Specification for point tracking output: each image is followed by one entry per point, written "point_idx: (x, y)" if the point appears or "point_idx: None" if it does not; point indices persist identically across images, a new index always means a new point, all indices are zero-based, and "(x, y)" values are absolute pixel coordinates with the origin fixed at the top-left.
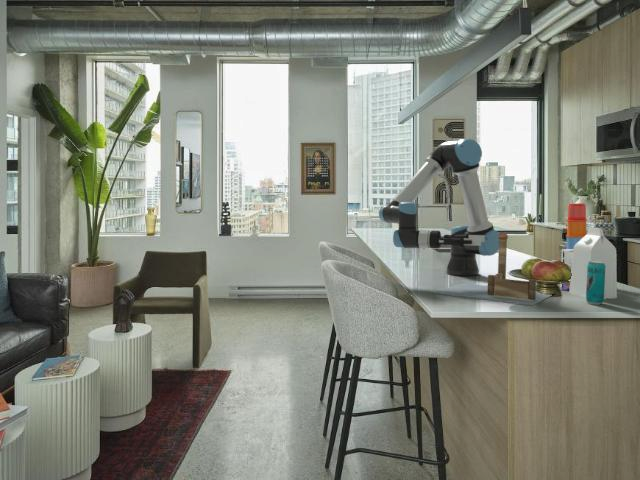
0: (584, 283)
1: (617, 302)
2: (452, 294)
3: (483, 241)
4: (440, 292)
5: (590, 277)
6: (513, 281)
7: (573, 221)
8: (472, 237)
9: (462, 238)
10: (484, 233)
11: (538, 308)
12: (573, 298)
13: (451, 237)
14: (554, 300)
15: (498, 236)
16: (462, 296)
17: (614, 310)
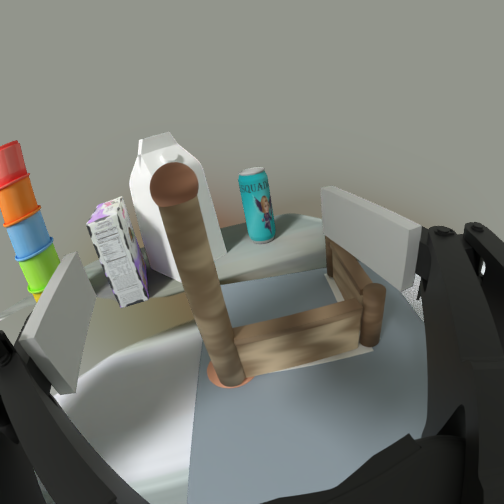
0: (209, 235)
1: (230, 234)
2: None
3: (93, 296)
4: None
5: (269, 195)
6: (354, 258)
7: (22, 179)
8: (57, 326)
9: (63, 422)
10: None
11: None
12: (238, 262)
13: (484, 361)
14: (286, 266)
15: (182, 186)
16: None
17: (295, 220)
